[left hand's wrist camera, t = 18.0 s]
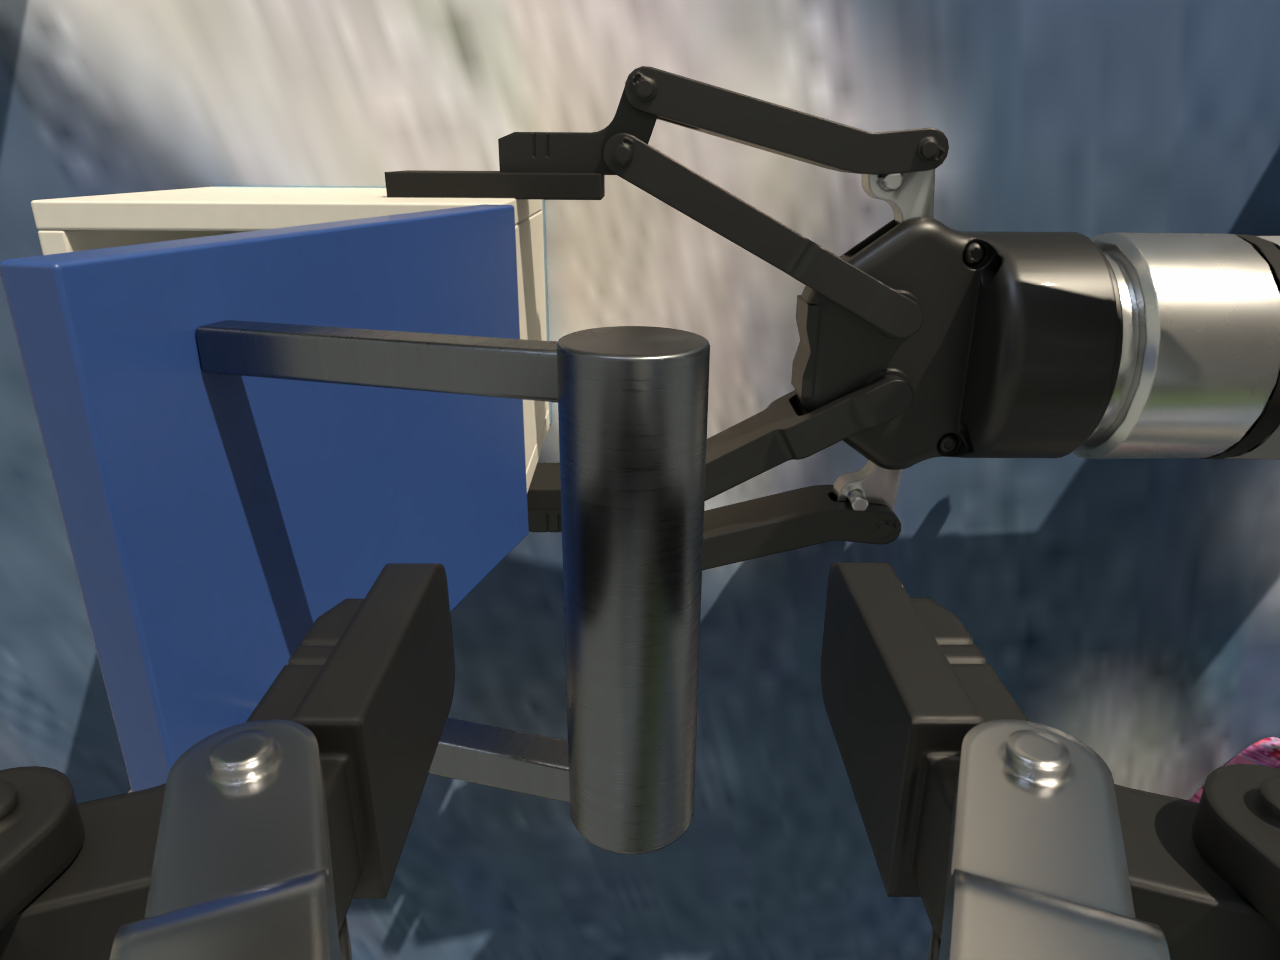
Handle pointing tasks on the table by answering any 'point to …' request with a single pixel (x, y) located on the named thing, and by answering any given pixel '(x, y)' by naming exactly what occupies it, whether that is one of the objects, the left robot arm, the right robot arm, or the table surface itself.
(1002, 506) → the table surface
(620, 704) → the lid
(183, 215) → the chest
